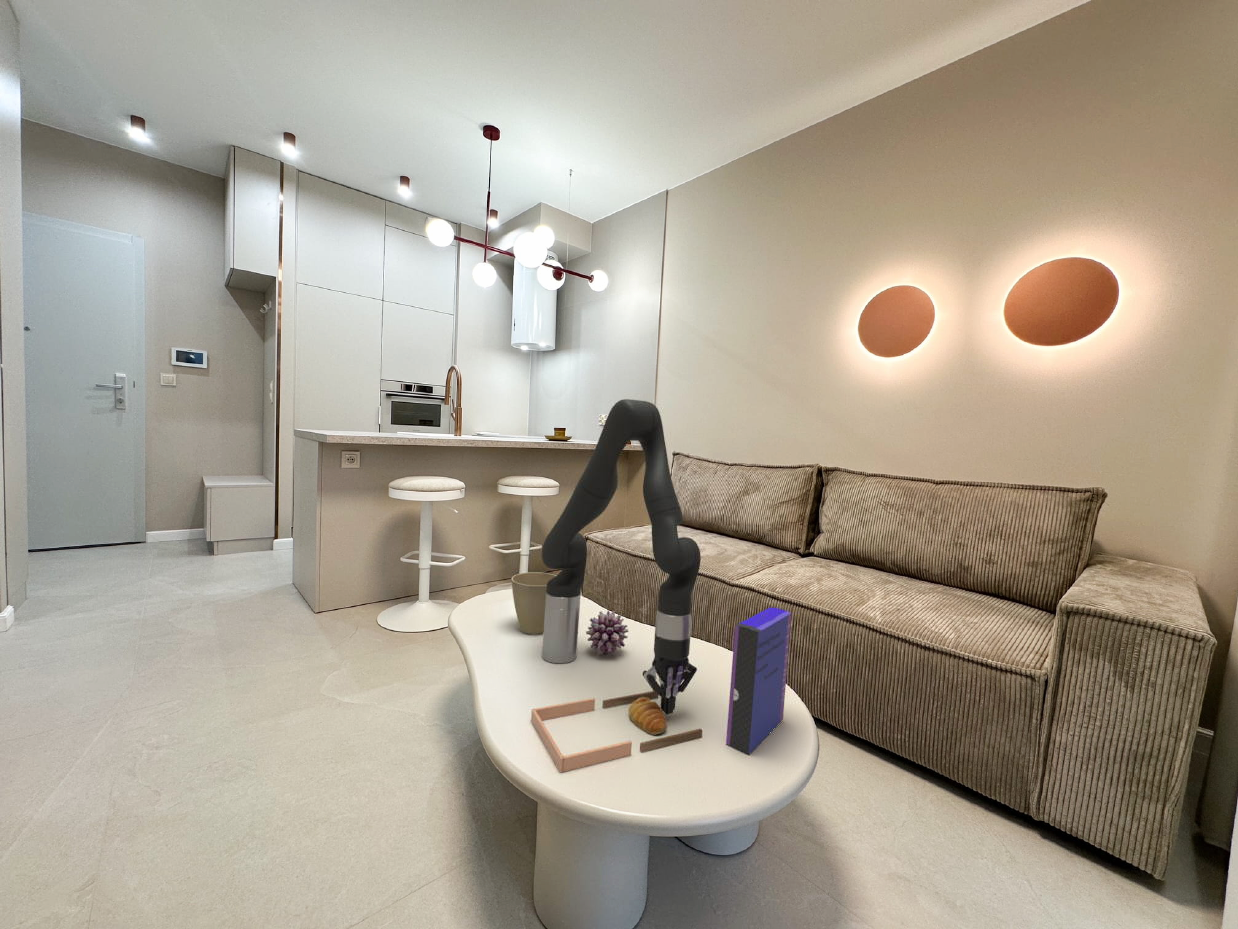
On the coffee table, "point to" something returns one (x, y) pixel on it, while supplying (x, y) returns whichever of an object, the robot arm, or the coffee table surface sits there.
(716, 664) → the coffee table surface
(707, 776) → the coffee table surface
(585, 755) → the terracotta pen
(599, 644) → the purple spiky ball
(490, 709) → the coffee table surface
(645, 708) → the pastry
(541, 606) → the plant pot
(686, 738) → the walnut chute
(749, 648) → the cereal box
